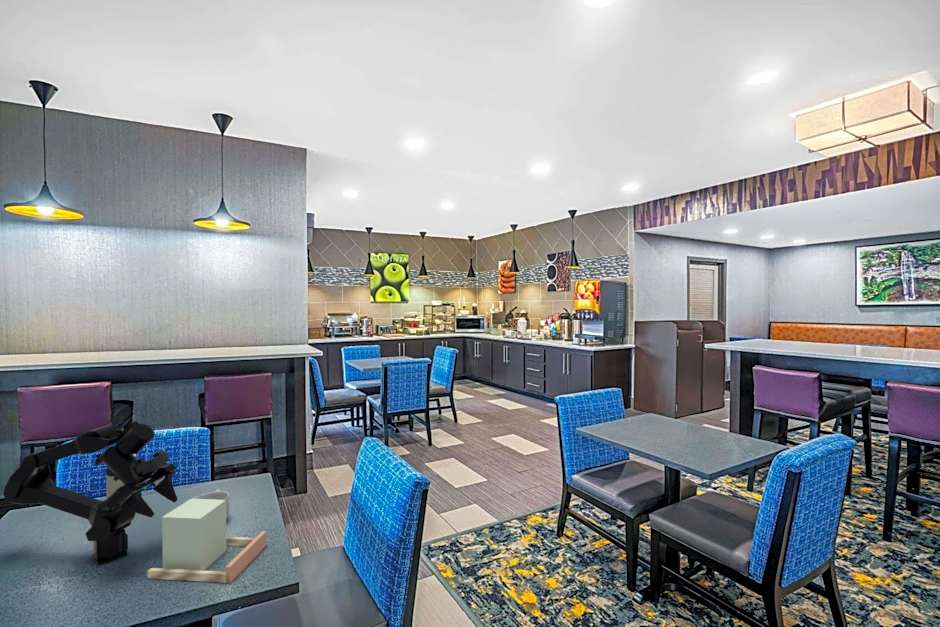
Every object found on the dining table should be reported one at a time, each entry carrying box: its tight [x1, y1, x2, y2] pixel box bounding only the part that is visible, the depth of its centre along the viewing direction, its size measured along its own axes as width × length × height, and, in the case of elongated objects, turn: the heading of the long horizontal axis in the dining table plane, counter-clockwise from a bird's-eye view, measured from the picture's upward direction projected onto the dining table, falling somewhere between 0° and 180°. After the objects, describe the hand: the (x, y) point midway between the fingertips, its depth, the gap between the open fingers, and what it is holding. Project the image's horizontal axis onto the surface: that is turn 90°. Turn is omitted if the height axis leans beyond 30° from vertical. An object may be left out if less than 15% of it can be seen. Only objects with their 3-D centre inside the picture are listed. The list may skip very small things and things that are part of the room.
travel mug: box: [105, 454, 137, 500], centre depth 150 cm, size 8×8×18 cm
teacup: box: [192, 488, 230, 518], centre depth 145 cm, size 14×11×8 cm
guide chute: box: [147, 530, 267, 584], centre depth 123 cm, size 21×17×4 cm
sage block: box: [161, 498, 227, 571], centre depth 123 cm, size 10×11×14 cm
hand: (164, 508), depth 124 cm, fingers open, 8 cm apart
